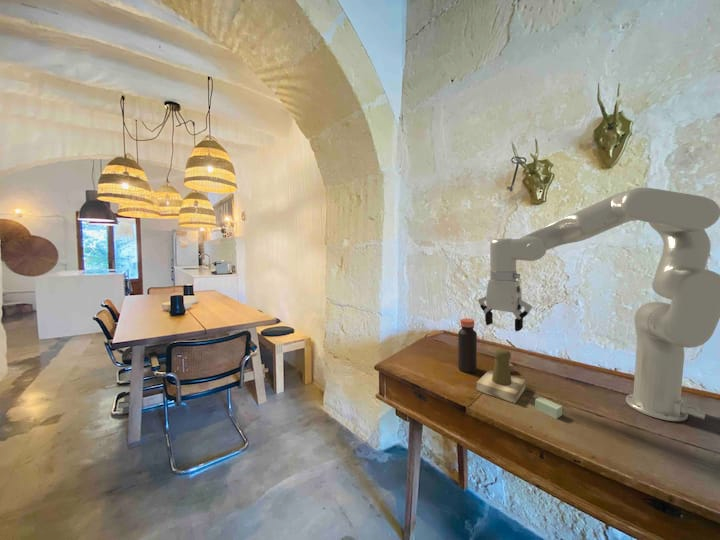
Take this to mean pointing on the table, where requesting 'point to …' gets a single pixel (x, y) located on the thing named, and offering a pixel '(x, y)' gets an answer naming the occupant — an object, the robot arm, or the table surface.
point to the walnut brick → (511, 368)
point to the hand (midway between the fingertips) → (503, 327)
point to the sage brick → (548, 407)
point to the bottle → (467, 347)
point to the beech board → (501, 387)
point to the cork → (502, 367)
